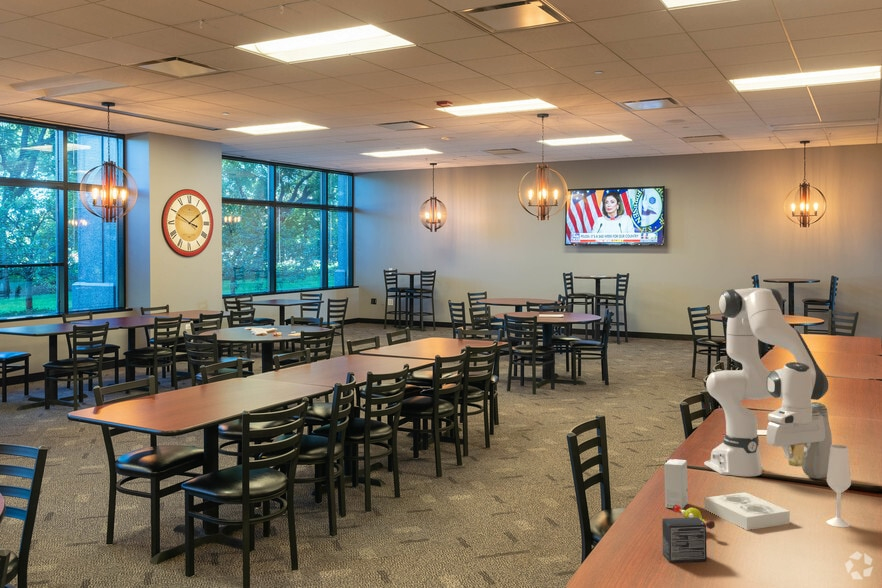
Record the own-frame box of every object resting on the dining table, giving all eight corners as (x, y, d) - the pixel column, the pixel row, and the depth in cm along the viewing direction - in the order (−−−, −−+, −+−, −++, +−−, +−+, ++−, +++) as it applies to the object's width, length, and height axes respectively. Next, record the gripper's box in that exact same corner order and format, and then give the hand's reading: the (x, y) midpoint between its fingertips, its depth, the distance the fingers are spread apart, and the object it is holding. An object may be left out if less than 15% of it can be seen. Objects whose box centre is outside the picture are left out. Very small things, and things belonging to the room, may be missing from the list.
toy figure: (666, 521, 240) (666, 500, 240) (680, 519, 242) (680, 498, 242) (704, 541, 224) (704, 518, 223) (720, 538, 226) (720, 516, 225)
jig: (704, 509, 251) (704, 497, 251) (745, 504, 256) (745, 492, 256) (746, 530, 232) (746, 517, 232) (789, 523, 237) (789, 511, 237)
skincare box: (682, 510, 251) (682, 465, 250) (663, 507, 254) (663, 463, 253) (688, 503, 258) (688, 459, 257) (669, 500, 261) (669, 457, 260)
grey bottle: (834, 482, 278) (835, 405, 276) (804, 481, 280) (805, 405, 278) (826, 474, 287) (827, 400, 286) (797, 473, 290) (798, 399, 288)
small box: (698, 552, 216) (698, 516, 215) (707, 562, 209) (707, 524, 209) (661, 553, 215) (661, 517, 215) (669, 563, 209) (669, 525, 208)
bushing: (785, 463, 246) (785, 441, 245) (796, 461, 247) (796, 440, 247) (795, 467, 242) (795, 445, 241) (806, 465, 243) (807, 443, 243)
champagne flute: (829, 518, 241) (829, 442, 240) (852, 522, 237) (853, 445, 236) (823, 524, 236) (824, 447, 235) (848, 528, 232) (848, 450, 230)
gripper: (815, 409, 250) (814, 451, 251) (763, 415, 243) (763, 457, 244) (830, 413, 244) (829, 456, 245) (778, 419, 237) (777, 463, 238)
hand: (796, 457), depth 244 cm, fingers closed on bushing, 4 cm apart
